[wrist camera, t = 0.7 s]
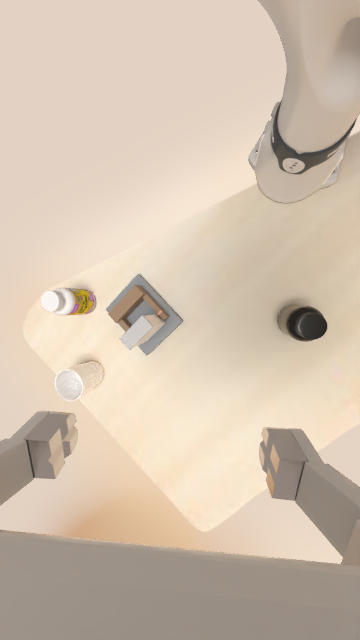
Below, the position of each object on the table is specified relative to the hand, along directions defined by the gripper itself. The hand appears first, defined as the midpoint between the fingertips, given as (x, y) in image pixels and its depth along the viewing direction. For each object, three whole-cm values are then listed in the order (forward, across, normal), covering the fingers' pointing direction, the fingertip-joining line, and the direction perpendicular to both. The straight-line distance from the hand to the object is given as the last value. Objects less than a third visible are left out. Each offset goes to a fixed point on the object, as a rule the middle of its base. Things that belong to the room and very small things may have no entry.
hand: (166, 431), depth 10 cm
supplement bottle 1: (+51, +29, +6) cm, 59 cm away
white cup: (+47, +26, +25) cm, 59 cm away
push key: (+45, +9, +10) cm, 47 cm away
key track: (+47, +11, +8) cm, 49 cm away
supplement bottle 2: (+42, -24, +6) cm, 49 cm away
